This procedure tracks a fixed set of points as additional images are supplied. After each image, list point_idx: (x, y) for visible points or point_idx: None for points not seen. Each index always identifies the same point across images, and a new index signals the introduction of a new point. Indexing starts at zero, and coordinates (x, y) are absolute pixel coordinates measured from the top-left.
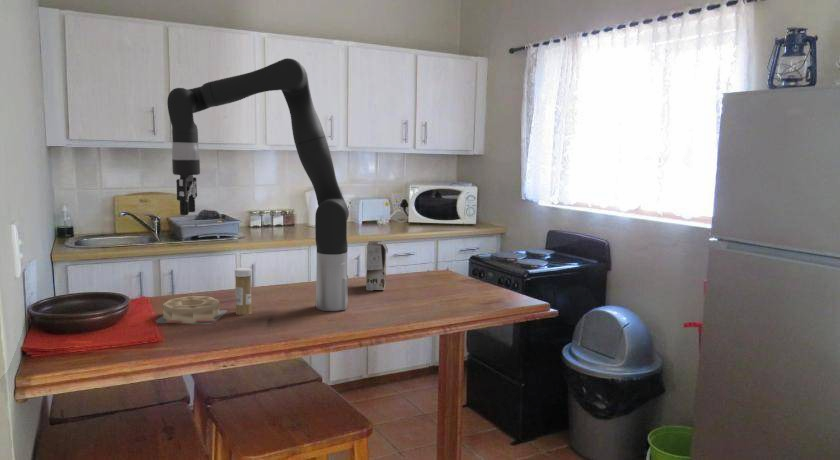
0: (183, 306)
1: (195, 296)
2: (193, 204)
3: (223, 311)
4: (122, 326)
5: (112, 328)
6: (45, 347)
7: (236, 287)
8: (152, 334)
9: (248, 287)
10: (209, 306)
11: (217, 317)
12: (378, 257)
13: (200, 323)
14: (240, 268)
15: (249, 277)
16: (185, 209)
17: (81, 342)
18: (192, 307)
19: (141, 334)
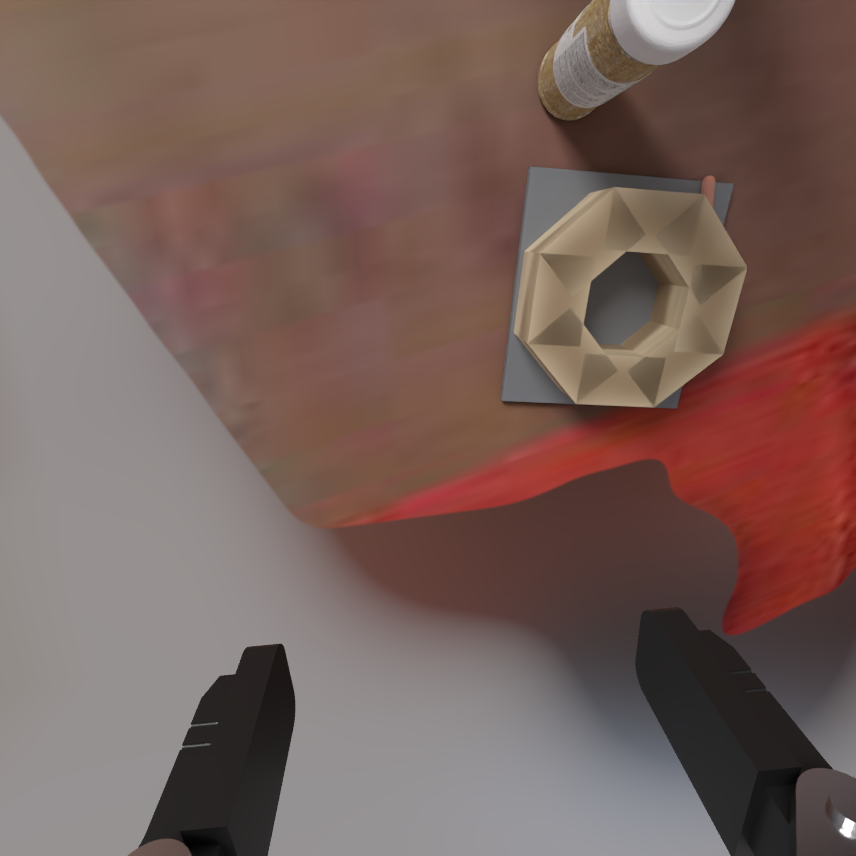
0: (701, 318)
1: (534, 319)
2: (255, 749)
3: (549, 184)
4: (674, 485)
5: (691, 503)
6: (828, 580)
7: (653, 70)
8: (780, 368)
9: None
10: (710, 206)
11: (641, 187)
12: None
13: None
14: (663, 7)
15: None
16: (751, 676)
17: (809, 523)
18: (723, 276)
19: (772, 401)
